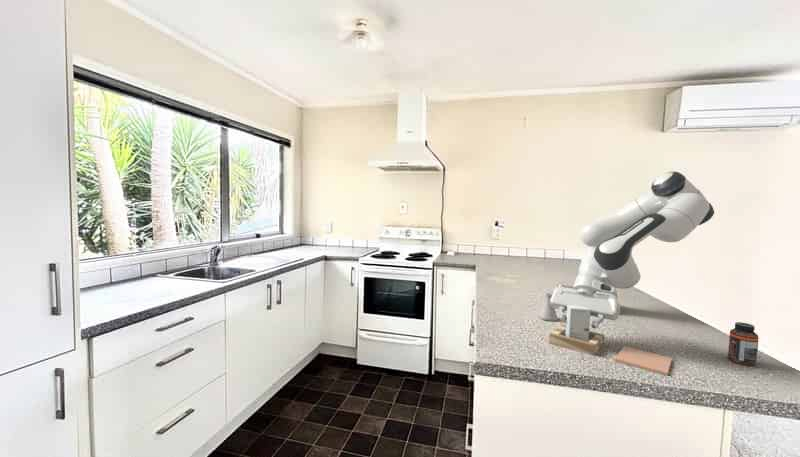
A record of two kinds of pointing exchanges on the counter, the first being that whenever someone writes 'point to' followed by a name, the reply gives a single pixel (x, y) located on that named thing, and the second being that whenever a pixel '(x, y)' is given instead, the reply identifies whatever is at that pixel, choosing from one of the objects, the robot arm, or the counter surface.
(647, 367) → the terracotta tile
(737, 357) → the supplement bottle
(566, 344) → the light wooden square frame
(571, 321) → the skincare box
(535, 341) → the counter surface
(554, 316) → the flask
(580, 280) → the robot arm
